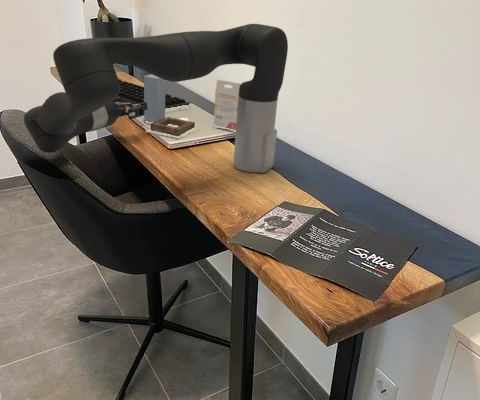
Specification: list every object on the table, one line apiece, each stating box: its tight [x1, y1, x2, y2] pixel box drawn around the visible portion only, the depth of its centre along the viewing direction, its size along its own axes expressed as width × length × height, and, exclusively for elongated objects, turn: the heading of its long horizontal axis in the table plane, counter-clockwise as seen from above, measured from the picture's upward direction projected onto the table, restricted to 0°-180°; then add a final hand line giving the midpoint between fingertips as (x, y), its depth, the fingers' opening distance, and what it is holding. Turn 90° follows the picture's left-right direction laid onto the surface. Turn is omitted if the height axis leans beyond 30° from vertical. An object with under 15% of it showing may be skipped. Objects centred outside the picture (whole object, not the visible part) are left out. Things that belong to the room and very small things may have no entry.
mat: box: [144, 128, 180, 140], centre depth 143 cm, size 11×12×1 cm
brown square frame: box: [150, 116, 196, 136], centre depth 143 cm, size 9×9×2 cm
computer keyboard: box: [116, 78, 191, 109], centre depth 175 cm, size 45×16×4 cm, turn 48°
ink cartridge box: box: [213, 79, 241, 130], centre depth 147 cm, size 9×5×15 cm, turn 62°
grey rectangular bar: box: [143, 74, 166, 122], centre depth 147 cm, size 4×4×14 cm
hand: (133, 103), depth 138 cm, fingers open, 8 cm apart
